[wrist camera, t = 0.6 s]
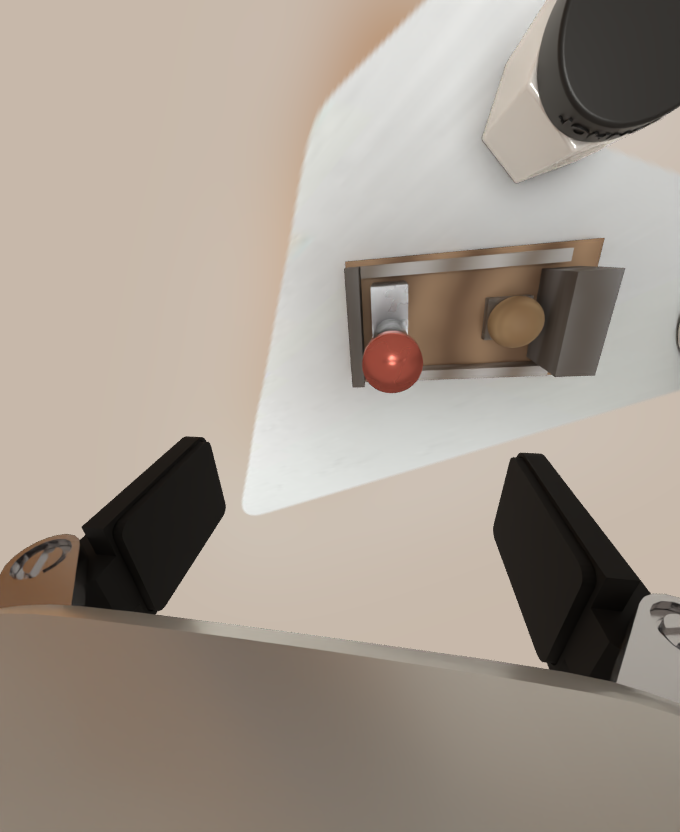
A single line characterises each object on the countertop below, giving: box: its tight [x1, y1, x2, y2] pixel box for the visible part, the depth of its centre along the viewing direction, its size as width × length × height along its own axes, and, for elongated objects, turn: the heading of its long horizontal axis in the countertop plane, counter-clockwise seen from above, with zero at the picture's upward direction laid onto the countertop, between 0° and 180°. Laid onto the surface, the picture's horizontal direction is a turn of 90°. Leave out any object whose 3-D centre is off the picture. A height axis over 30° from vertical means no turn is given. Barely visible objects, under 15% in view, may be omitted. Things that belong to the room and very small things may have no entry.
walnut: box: [487, 296, 545, 348], centre depth 28 cm, size 4×4×4 cm
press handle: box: [362, 280, 423, 393], centre depth 26 cm, size 4×8×13 cm, turn 5°
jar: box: [482, 0, 680, 183], centre depth 19 cm, size 9×8×12 cm
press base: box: [344, 238, 625, 387], centre depth 29 cm, size 22×12×7 cm, turn 95°
